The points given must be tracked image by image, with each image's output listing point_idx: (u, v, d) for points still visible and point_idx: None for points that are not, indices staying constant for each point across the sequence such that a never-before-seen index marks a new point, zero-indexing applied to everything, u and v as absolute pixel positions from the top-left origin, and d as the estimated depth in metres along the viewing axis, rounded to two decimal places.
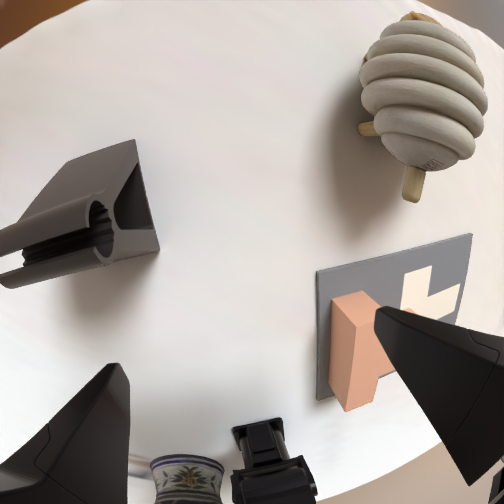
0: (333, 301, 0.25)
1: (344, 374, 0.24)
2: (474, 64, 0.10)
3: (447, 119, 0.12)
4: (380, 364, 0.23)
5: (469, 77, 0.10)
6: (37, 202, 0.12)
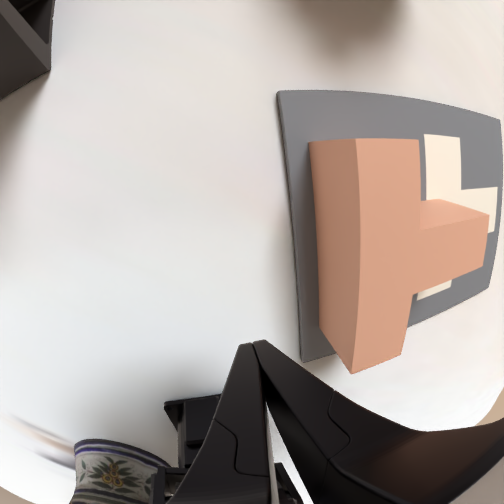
0: (311, 143, 0.14)
1: (347, 283, 0.13)
2: None
3: None
4: (414, 262, 0.12)
5: None
6: None
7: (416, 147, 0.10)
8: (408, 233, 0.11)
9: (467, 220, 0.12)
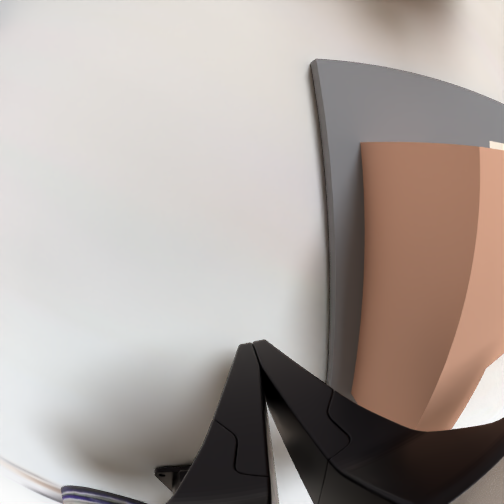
0: (367, 144, 0.08)
1: (414, 368, 0.07)
2: None
3: None
4: (500, 331, 0.06)
5: None
6: None
7: None
8: None
9: None
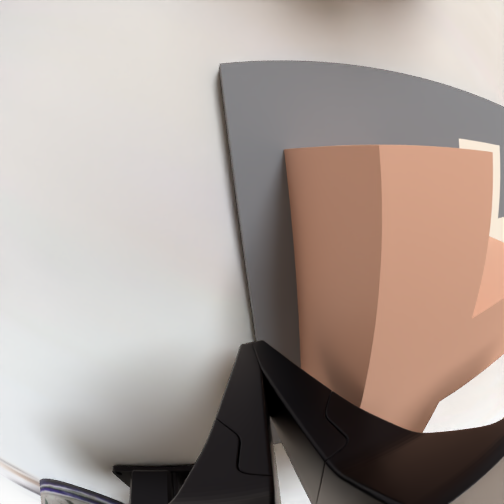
0: (288, 151, 0.08)
1: None
2: None
3: None
4: (453, 364, 0.06)
5: None
6: None
7: (489, 167, 0.04)
8: (455, 329, 0.05)
9: None
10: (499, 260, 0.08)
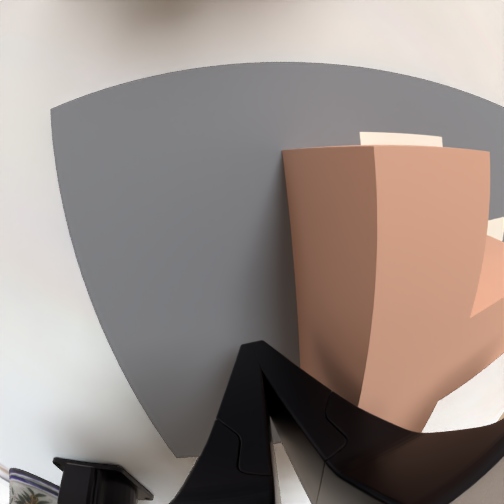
0: (286, 152, 0.08)
1: None
2: None
3: None
4: (451, 364, 0.06)
5: None
6: None
7: (486, 167, 0.04)
8: (452, 328, 0.05)
9: None
10: (498, 259, 0.08)
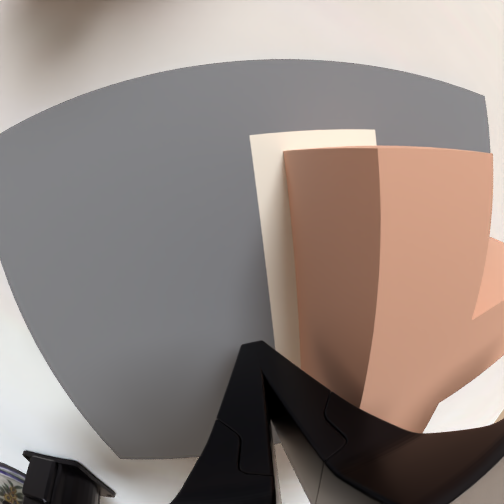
0: (288, 153, 0.08)
1: None
2: None
3: None
4: (452, 366, 0.06)
5: None
6: None
7: (489, 168, 0.04)
8: (454, 331, 0.05)
9: None
10: (499, 261, 0.08)
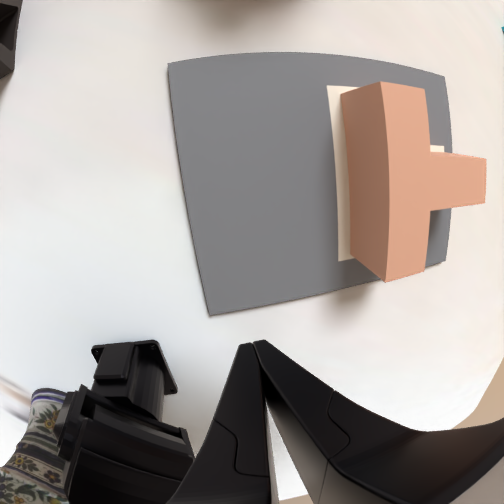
0: (343, 94, 0.16)
1: (378, 195, 0.15)
2: None
3: None
4: (429, 181, 0.14)
5: None
6: None
7: (423, 93, 0.12)
8: (422, 156, 0.14)
9: (468, 158, 0.14)
10: None
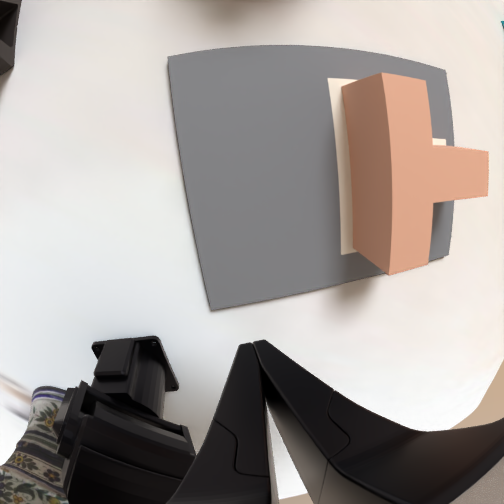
0: (344, 86, 0.16)
1: (380, 186, 0.15)
2: None
3: None
4: (432, 173, 0.14)
5: None
6: None
7: (424, 85, 0.12)
8: (424, 147, 0.13)
9: (470, 150, 0.14)
10: (454, 147, 0.15)
